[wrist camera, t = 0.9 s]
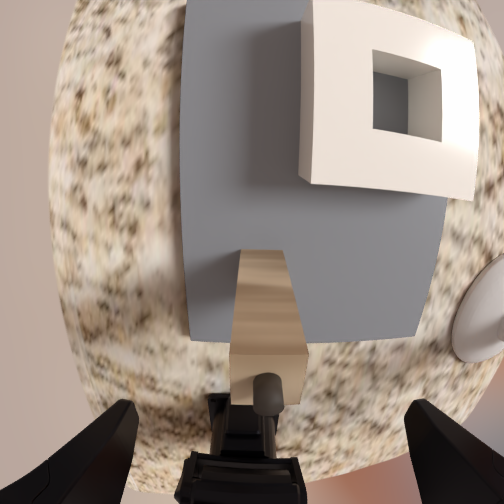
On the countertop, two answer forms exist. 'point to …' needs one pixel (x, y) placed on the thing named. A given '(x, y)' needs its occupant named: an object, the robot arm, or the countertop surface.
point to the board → (288, 187)
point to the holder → (361, 101)
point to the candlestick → (481, 316)
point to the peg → (266, 335)
